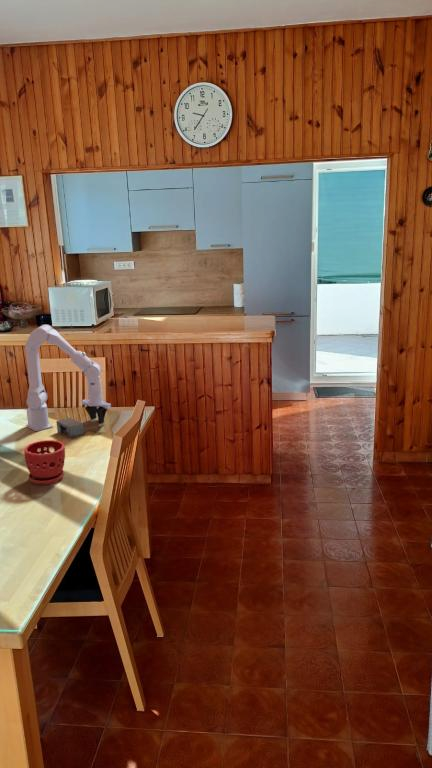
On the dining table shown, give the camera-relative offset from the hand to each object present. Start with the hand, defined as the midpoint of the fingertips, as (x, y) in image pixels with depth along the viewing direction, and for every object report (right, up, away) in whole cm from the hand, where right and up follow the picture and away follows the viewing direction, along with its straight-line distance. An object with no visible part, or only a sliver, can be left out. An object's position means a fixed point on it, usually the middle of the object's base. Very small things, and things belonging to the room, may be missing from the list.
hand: (97, 422), depth 252 cm
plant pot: (-7, -16, -51) cm, 54 cm away
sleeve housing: (-10, -4, -8) cm, 13 cm away
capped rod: (-3, -2, -3) cm, 5 cm away
